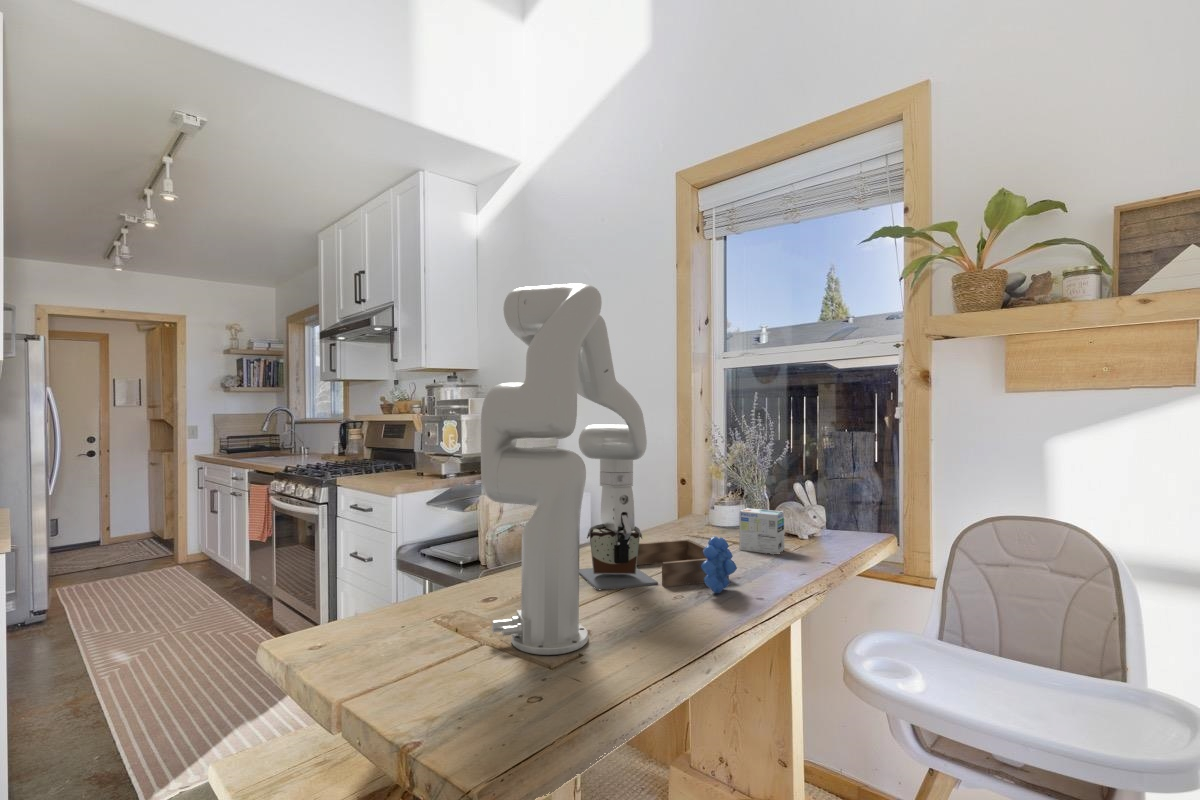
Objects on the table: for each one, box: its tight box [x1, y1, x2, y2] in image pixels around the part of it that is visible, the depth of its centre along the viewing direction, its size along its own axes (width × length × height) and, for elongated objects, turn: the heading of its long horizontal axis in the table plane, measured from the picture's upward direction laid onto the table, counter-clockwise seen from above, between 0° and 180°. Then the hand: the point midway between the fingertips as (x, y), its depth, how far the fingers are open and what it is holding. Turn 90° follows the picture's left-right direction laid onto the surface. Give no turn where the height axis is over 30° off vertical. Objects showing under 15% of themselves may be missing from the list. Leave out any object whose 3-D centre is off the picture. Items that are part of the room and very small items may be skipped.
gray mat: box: [579, 567, 659, 591], centre depth 133 cm, size 14×15×1 cm
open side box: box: [637, 538, 730, 588], centre depth 139 cm, size 16×19×5 cm
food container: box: [586, 523, 643, 574], centre depth 134 cm, size 12×6×10 cm, turn 89°
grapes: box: [701, 536, 738, 594], centre depth 122 cm, size 12×7×12 cm, turn 144°
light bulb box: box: [738, 507, 785, 555], centre depth 160 cm, size 11×7×11 cm, turn 58°
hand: (615, 558), depth 133 cm, fingers closed on food container, 6 cm apart
